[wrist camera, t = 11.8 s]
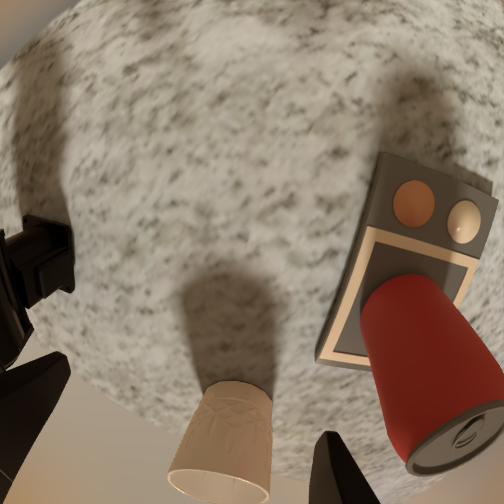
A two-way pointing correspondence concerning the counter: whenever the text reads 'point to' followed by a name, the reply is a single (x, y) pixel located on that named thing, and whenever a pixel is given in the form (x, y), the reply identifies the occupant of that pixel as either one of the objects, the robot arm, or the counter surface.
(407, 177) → the slate card
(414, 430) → the beer can
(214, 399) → the white cup
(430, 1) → the counter surface
